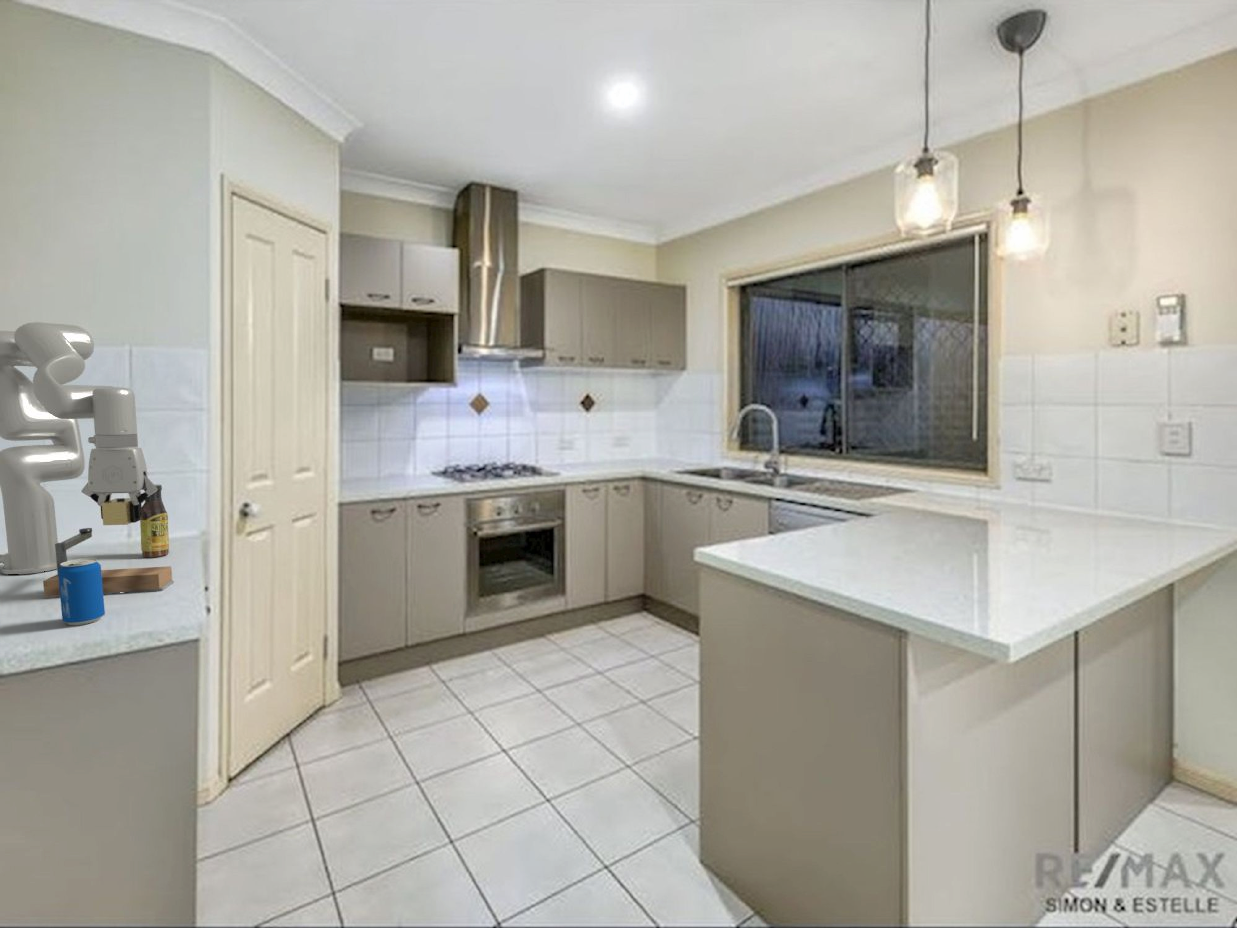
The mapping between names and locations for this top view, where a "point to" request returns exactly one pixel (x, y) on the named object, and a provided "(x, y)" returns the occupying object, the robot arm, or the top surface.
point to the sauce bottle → (154, 526)
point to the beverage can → (81, 591)
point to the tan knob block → (117, 511)
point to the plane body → (122, 581)
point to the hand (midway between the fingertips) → (122, 521)
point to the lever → (70, 545)
